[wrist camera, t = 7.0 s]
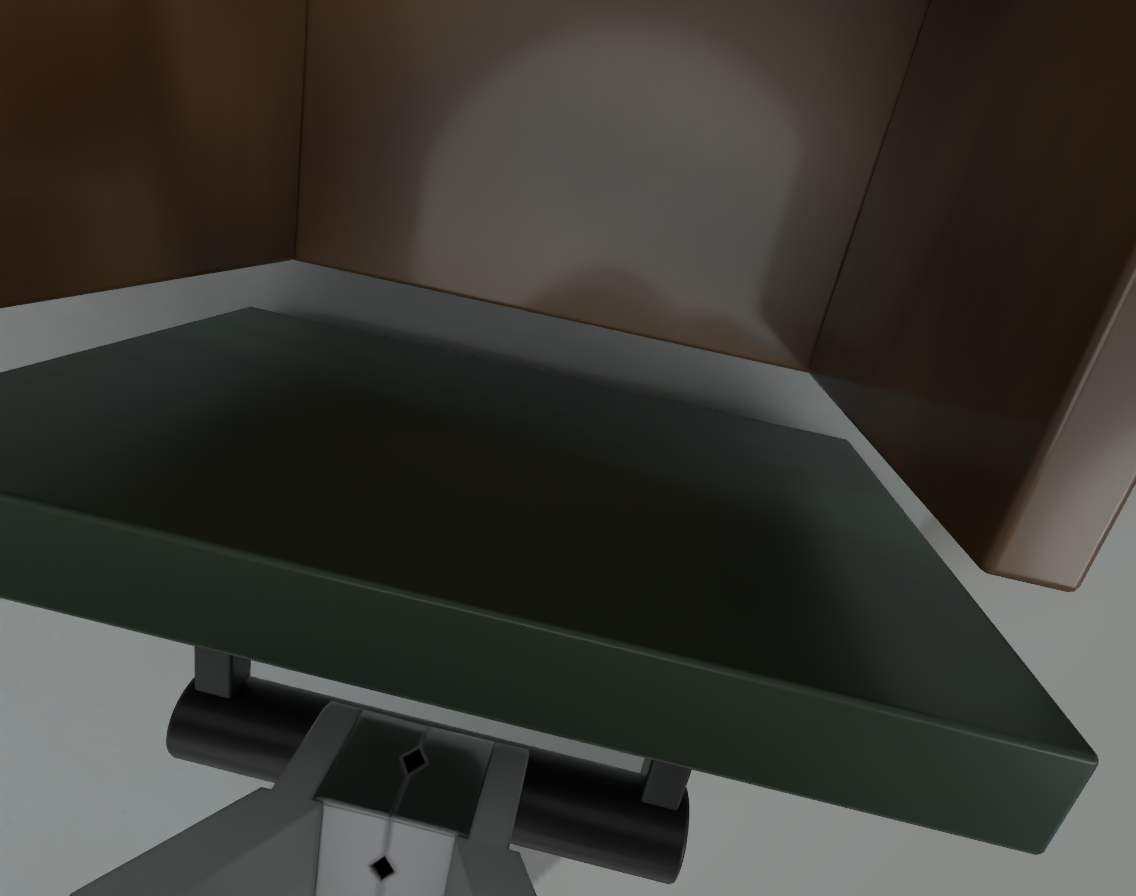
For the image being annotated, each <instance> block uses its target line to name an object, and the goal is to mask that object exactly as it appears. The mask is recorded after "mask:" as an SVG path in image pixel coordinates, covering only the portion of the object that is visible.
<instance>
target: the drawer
mask: <svg viewBox="0 0 1136 896" xmlns="http://www.w3.org/2000/svg"><path fill="white" fill-rule="evenodd" d="M289 260H297V261H301V262H306V263H310V264H315V265H319V266H324V267H329V268H333V269H338V270H342V271H347V272H351V273H356V274H360V275H365V276H370V277H374V278H379V279H383V280H388V281H392V282H397V283H402V284H406V285H411V286H415V287H420V288H424V289H429V290H433V291H438V292H443V293H447V294H452V295H456V296H461V297H465V298H470V299H474V300H479V301H484V302H488V303H493V304H497V305H502V306H506V307H511V308H515V309H520V310H525V311H529V312H534V313H538V314H543V315H547V316H552V317H556V318H561V319H566V320H570V321H575V322H579V323H584V324H588V325H593V326H597V327H602V328H607V329H611V330H616V331H620V332H625V333H629V334H634V335H638V336H643V337H648V338H652V339H657V340H661V341H666V342H670V343H675V344H679V345H684V346H689V347H693V348H698V349H702V350H707V351H711V352H716V353H721V354H725V355H730V356H734V357H739V358H743V359H748V360H752V361H757V362H762V363H766V364H771V365H775V366H780V367H784V368H789V369H793V370H798V371H803V372H807V373H809V374H810V375H811V376H812V377H813V378H814V379H815V381H816V382H817V383H818V384H819V385H820V386H821V387H822V389H823V390H824V391H825V392H826V393H827V394H828V395H829V397H830V398H831V399H832V400H833V401H834V402H835V403H836V405H837V406H838V407H839V408H840V409H841V410H842V411H843V413H844V414H845V415H846V416H847V417H848V418H849V419H850V421H851V422H852V423H853V424H854V425H855V426H856V427H857V429H858V430H859V431H860V432H861V433H862V434H863V435H864V437H865V438H866V439H867V440H868V441H869V442H870V443H871V445H872V446H873V447H874V448H875V449H876V450H877V451H878V453H879V454H880V455H881V456H882V457H883V458H884V459H885V461H886V462H887V463H888V464H889V465H890V466H891V467H892V469H893V470H894V471H895V472H896V473H897V474H898V475H899V477H900V478H901V479H902V480H903V481H904V482H905V483H906V485H907V486H908V487H909V488H910V489H911V490H912V491H913V493H914V494H915V495H916V496H917V497H918V498H919V499H920V501H921V502H922V503H923V504H924V505H925V506H926V507H927V509H928V510H929V511H930V512H931V513H932V514H933V515H934V517H935V518H936V519H938V521H939V522H940V523H941V524H942V526H943V527H944V528H945V529H946V530H947V531H948V533H949V534H950V535H951V536H952V537H953V538H954V539H955V541H956V542H957V543H958V544H959V545H960V546H961V547H962V548H963V549H964V551H965V552H966V553H967V554H968V555H969V556H970V558H971V559H972V560H973V561H974V562H975V563H976V564H977V565H978V567H979V568H980V569H981V570H983V571H984V572H986V573H988V574H992V575H997V576H1001V577H1005V578H1009V579H1014V580H1018V581H1022V582H1027V583H1031V584H1036V585H1040V586H1044V587H1049V588H1053V589H1057V590H1061V591H1066V592H1071V591H1075V590H1076V589H1077V588H1079V587H1080V585H1081V583H1082V581H1083V579H1084V578H1085V576H1086V574H1087V572H1088V570H1089V568H1090V566H1091V565H1092V563H1093V561H1094V559H1095V557H1096V556H1097V554H1098V552H1099V550H1100V548H1101V546H1102V544H1103V543H1104V541H1105V539H1106V537H1107V535H1108V533H1109V531H1110V530H1111V528H1112V526H1113V524H1114V522H1115V520H1116V519H1117V517H1118V515H1119V513H1120V511H1121V509H1122V507H1123V506H1124V504H1125V502H1126V500H1127V498H1128V496H1129V495H1130V493H1131V491H1132V489H1133V487H1134V485H1135V484H1136V0H0V308H5V307H11V306H17V305H23V304H29V303H35V302H41V301H47V300H53V299H59V298H65V297H71V296H77V295H84V294H90V293H96V292H102V291H108V290H114V289H120V288H126V287H132V286H138V285H144V284H150V283H156V282H162V281H168V280H174V279H180V278H186V277H192V276H198V275H204V274H210V273H216V272H222V271H229V270H235V269H241V268H247V267H253V266H259V265H265V264H271V263H277V262H283V261H289ZM0 598H3V599H7V600H11V601H15V602H19V603H23V604H27V605H31V606H35V607H39V608H43V609H47V610H51V611H55V612H60V613H64V614H68V615H72V616H76V617H80V618H84V619H88V620H92V621H96V622H100V623H104V624H108V625H112V626H116V627H120V628H124V629H128V630H132V631H136V632H140V633H144V634H148V635H152V636H156V637H160V638H164V639H168V640H172V641H176V642H180V643H184V644H188V645H193V646H195V677H194V678H193V679H192V680H191V682H190V683H189V684H188V685H187V687H186V688H185V690H184V691H183V693H182V695H181V696H180V698H179V700H178V702H177V704H176V706H175V708H174V711H173V713H172V716H171V719H170V722H169V725H168V730H167V737H166V745H167V750H168V752H169V753H170V754H171V755H172V756H173V757H175V758H179V759H183V760H186V761H190V762H194V763H198V764H202V765H206V766H210V767H214V768H218V769H222V770H225V771H229V772H233V773H237V774H241V775H245V776H249V777H253V778H257V779H261V780H264V781H268V782H272V783H276V782H277V780H278V778H279V777H280V775H281V774H282V772H283V771H284V769H285V768H286V766H287V764H288V763H289V761H290V760H291V758H292V757H293V755H294V753H295V752H296V750H297V749H298V747H299V746H300V744H301V742H302V741H303V739H304V738H305V736H306V735H307V733H308V732H309V730H310V728H311V727H312V725H313V724H314V722H315V721H316V719H317V717H318V716H319V714H320V713H321V711H322V710H323V708H324V707H325V706H327V705H328V704H329V703H330V702H331V701H335V702H338V703H342V704H345V705H349V706H353V707H356V708H360V709H364V710H365V709H366V710H370V711H374V712H377V713H381V714H385V715H388V716H392V717H396V718H399V719H403V720H406V721H410V722H414V723H417V724H421V725H425V726H428V727H430V726H431V727H435V728H439V729H444V730H448V731H452V732H456V733H461V734H465V735H469V736H473V737H478V738H482V739H486V740H490V741H495V743H496V742H499V743H503V744H508V745H512V746H516V747H520V748H525V749H528V750H529V758H528V763H527V768H526V772H525V777H524V781H523V786H522V791H521V795H520V800H519V805H518V809H517V814H516V818H515V823H514V828H513V832H512V837H511V841H510V844H514V845H518V846H522V847H526V848H530V849H534V850H538V851H541V852H545V853H549V854H553V855H557V856H561V857H565V858H569V859H573V860H577V861H580V862H584V863H589V864H593V865H596V866H600V867H604V868H608V869H612V870H616V871H619V872H623V873H627V874H631V875H635V876H639V877H643V878H647V879H651V880H655V881H658V882H663V883H666V884H671V883H674V882H675V880H676V878H677V876H678V874H679V872H680V869H681V866H682V862H683V858H684V853H685V849H686V843H687V836H688V826H689V797H688V792H687V788H686V785H687V782H688V779H689V776H690V773H691V770H696V771H700V772H704V773H708V774H712V775H716V776H721V777H725V778H729V779H732V780H737V781H741V782H745V783H749V784H753V785H757V786H761V787H765V788H769V789H773V790H777V791H781V792H785V793H789V794H793V795H797V796H801V797H805V798H809V799H813V800H817V801H822V802H825V803H829V804H833V805H837V806H841V807H845V808H849V809H853V810H857V811H862V812H866V813H870V814H874V815H878V816H882V817H886V818H890V819H894V820H898V821H902V822H906V823H910V824H914V825H918V826H922V827H926V828H930V829H934V830H938V831H942V832H946V833H950V834H954V835H959V836H963V837H967V838H970V839H974V840H978V841H983V842H987V843H990V844H994V845H998V846H1003V847H1007V848H1011V849H1015V850H1019V851H1023V852H1027V853H1031V854H1035V855H1036V854H1041V853H1043V852H1044V851H1045V849H1046V848H1047V846H1048V845H1049V843H1050V841H1051V840H1052V838H1053V836H1054V835H1055V833H1056V832H1057V830H1058V828H1059V827H1060V825H1061V824H1062V822H1063V820H1064V819H1065V817H1066V815H1067V814H1068V812H1069V811H1070V809H1071V807H1072V806H1073V804H1074V803H1075V801H1076V799H1077V798H1078V796H1079V795H1080V793H1081V791H1082V790H1083V788H1084V787H1085V785H1086V783H1087V782H1088V780H1089V778H1090V777H1091V775H1092V774H1093V772H1094V771H1095V769H1096V767H1097V766H1098V757H1097V754H1095V752H1094V751H1093V749H1092V748H1091V747H1090V746H1089V744H1088V743H1087V742H1086V741H1085V739H1084V738H1083V737H1082V736H1081V734H1080V733H1079V732H1078V730H1077V729H1076V728H1075V727H1074V725H1073V724H1072V723H1071V722H1070V720H1069V719H1068V718H1067V717H1066V715H1065V714H1064V713H1063V712H1062V710H1061V709H1060V708H1059V706H1058V705H1057V704H1056V703H1055V702H1054V700H1053V699H1052V698H1051V697H1050V695H1049V694H1048V693H1047V691H1046V690H1045V689H1044V688H1043V686H1042V685H1041V684H1040V683H1039V681H1038V680H1037V679H1036V678H1035V676H1034V675H1033V674H1032V672H1031V671H1030V670H1029V669H1028V667H1027V666H1026V665H1025V664H1024V662H1023V661H1022V660H1021V659H1020V657H1019V656H1018V655H1017V654H1016V652H1015V651H1014V650H1013V648H1012V647H1011V646H1010V645H1009V643H1008V642H1007V641H1006V640H1005V638H1004V637H1003V636H1002V635H1001V633H1000V632H999V631H998V629H997V628H996V627H995V626H994V624H993V623H992V622H991V621H990V619H989V618H988V617H987V616H986V614H985V613H984V612H983V611H982V609H981V608H980V607H979V606H978V604H977V603H976V602H975V600H974V599H973V598H972V597H971V596H970V594H969V593H968V592H967V591H966V589H965V588H964V587H963V585H962V584H961V583H960V582H959V580H958V579H957V578H956V577H955V576H954V574H953V573H952V571H951V570H950V569H949V568H948V566H947V565H946V564H945V563H944V561H943V560H942V559H941V557H940V556H939V555H938V554H937V552H936V551H935V550H934V549H933V547H932V546H931V545H930V544H929V542H928V541H927V540H926V539H925V537H924V536H923V535H922V533H921V532H920V531H919V530H918V528H917V527H916V526H915V525H914V523H913V522H912V521H911V520H910V518H909V517H908V516H907V515H906V513H905V512H904V511H903V510H902V508H901V507H900V506H899V504H898V503H897V502H896V501H895V499H894V498H893V497H892V496H891V494H890V493H889V492H888V491H887V489H886V488H885V487H884V486H883V484H882V483H881V482H880V480H879V479H878V478H877V477H876V475H875V474H874V473H873V472H872V470H871V469H870V468H869V467H868V465H867V464H866V463H865V462H864V460H863V459H862V458H861V456H860V455H859V454H858V453H857V451H856V450H855V449H854V448H853V446H852V445H851V444H850V443H849V441H847V440H845V439H841V438H836V437H832V436H827V435H823V434H818V433H814V432H809V431H805V430H800V429H796V428H791V427H787V426H782V425H778V424H774V423H769V422H765V421H760V420H756V419H751V418H747V417H742V416H738V415H733V414H729V413H724V412H720V411H715V410H711V409H706V408H702V407H697V406H693V405H688V404H684V403H680V402H675V401H671V400H666V399H662V398H657V397H653V396H648V395H644V394H639V393H635V392H630V391H626V390H621V389H617V388H612V387H608V386H603V385H599V384H594V383H590V382H585V381H581V380H577V379H572V378H568V377H563V376H559V375H554V374H550V373H545V372H541V371H536V370H532V369H527V368H523V367H518V366H514V365H509V364H505V363H500V362H496V361H491V360H487V359H483V358H478V357H474V356H469V355H465V354H460V353H456V352H451V351H447V350H442V349H438V348H433V347H429V346H424V345H420V344H415V343H411V342H406V341H402V340H397V339H393V338H389V337H384V336H380V335H375V334H371V333H366V332H362V331H357V330H353V329H348V328H344V327H339V326H335V325H330V324H326V323H321V322H317V321H312V320H308V319H303V318H299V317H295V316H290V315H286V314H281V313H277V312H272V311H268V310H263V309H259V308H254V307H247V308H244V309H240V310H236V311H232V312H228V313H225V314H221V315H217V316H213V317H210V318H206V319H202V320H198V321H194V322H191V323H187V324H183V325H179V326H175V327H172V328H168V329H164V330H160V331H156V332H153V333H149V334H145V335H141V336H137V337H134V338H130V339H126V340H122V341H118V342H115V343H111V344H107V345H103V346H99V347H96V348H92V349H88V350H84V351H80V352H77V353H73V354H69V355H65V356H62V357H58V358H54V359H50V360H46V361H43V362H39V363H35V364H31V365H27V366H24V367H20V368H16V369H12V370H8V371H5V372H1V373H0ZM251 660H253V661H257V662H261V663H265V664H269V665H273V666H277V667H281V668H285V669H289V670H293V671H297V672H301V673H305V674H309V675H313V676H317V677H321V678H325V679H330V680H334V681H338V682H342V683H346V684H350V685H354V686H358V687H362V688H366V689H370V690H374V691H378V692H382V693H386V694H390V695H394V696H398V697H402V698H406V699H410V700H414V701H418V702H422V703H426V704H430V705H434V706H438V707H442V708H446V709H450V710H454V711H458V712H463V713H467V714H471V715H475V716H479V717H483V718H487V719H491V720H495V721H499V722H503V723H507V724H511V725H515V726H519V727H523V728H527V729H531V730H535V731H539V732H543V733H547V734H551V735H555V736H559V737H563V738H567V739H571V740H575V741H579V742H583V743H587V744H591V745H595V746H600V747H604V748H608V749H612V750H616V751H620V752H624V753H628V754H632V755H636V756H640V757H644V758H645V759H644V762H643V766H642V769H641V772H640V773H637V772H633V771H629V770H625V769H621V768H617V767H613V766H609V765H605V764H601V763H597V762H593V761H589V760H585V759H581V758H577V757H573V756H569V755H565V754H561V753H557V752H552V751H548V750H544V749H540V748H536V747H532V746H528V745H524V744H520V743H516V742H512V741H508V740H504V739H500V738H496V737H492V736H488V735H484V734H480V733H476V732H472V731H468V730H464V729H460V728H456V727H452V726H448V725H444V724H440V723H436V722H432V721H428V720H424V719H420V718H416V717H412V716H408V715H404V714H400V713H396V712H392V711H388V710H384V709H380V708H376V707H372V706H368V705H364V704H360V703H356V702H352V701H348V700H344V699H340V698H336V697H332V696H328V695H324V694H320V693H316V692H312V691H308V690H304V689H300V688H296V687H292V686H288V685H284V684H280V683H276V682H272V681H268V680H264V679H260V678H256V677H252V676H250V667H251Z"/></svg>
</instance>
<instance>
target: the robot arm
mask: <svg viewBox="0 0 1136 896" xmlns="http://www.w3.org/2000/svg"><path fill="white" fill-rule="evenodd" d="M528 758H529V750H528V749H525V748H520V747H516V746H512V745H508V744H503V743H499V742H496V743H495V741H490V740H486V739H482V738H478V737H473V736H469V735H465V734H461V733H456V732H452V731H448V730H444V729H439V728H435V727H431V726H430V727H428V726H425V725H421V724H417V723H414V722H410V721H406V720H403V719H399V718H396V717H392V716H388V715H385V714H381V713H377V712H374V711H370V710H366V709H365V710H364V709H360V708H356V707H353V706H349V705H345V704H342V703H338V702H335V701H331V702H330V703H329V704H328V705H327V706H325V707H324V708H323V710H322V711H321V713H320V714H319V716H318V717H317V719H316V721H315V722H314V724H313V725H312V727H311V728H310V730H309V732H308V733H307V735H306V736H305V738H304V739H303V741H302V742H301V744H300V746H299V747H298V749H297V750H296V752H295V753H294V755H293V757H292V758H291V760H290V761H289V763H288V764H287V766H286V768H285V769H284V771H283V772H282V774H281V775H280V777H279V778H278V780H277V782H276V783H275V785H274V786H273V788H272V789H267V788H262V787H261V788H259V789H257V790H255V791H253V792H252V793H250V794H248V795H246V796H244V797H243V798H241V799H239V800H237V801H235V802H234V803H232V804H230V805H228V806H227V807H225V808H223V809H221V810H219V811H218V812H216V813H214V814H212V815H210V816H209V817H207V818H205V819H203V820H202V821H200V822H198V823H196V824H194V825H193V826H191V827H189V828H187V829H185V830H184V831H182V832H180V833H178V834H176V835H175V836H173V837H171V838H169V839H168V840H166V841H164V842H162V843H160V844H159V845H157V846H155V847H153V848H151V849H150V850H148V851H146V852H144V853H142V854H141V855H139V856H137V857H135V858H134V859H132V860H130V861H128V862H126V863H125V864H123V865H121V866H119V867H117V868H116V869H114V870H112V871H110V872H109V873H107V874H105V875H103V876H101V877H100V878H98V879H96V880H94V881H92V882H91V883H89V884H87V885H85V886H83V887H82V888H80V889H78V890H76V891H75V892H73V893H71V894H70V896H537V895H536V893H535V890H534V888H533V886H532V883H531V881H530V878H529V876H528V873H527V871H526V868H525V866H524V863H523V861H522V858H521V856H520V853H519V852H516V851H513V850H509V846H510V841H511V837H512V832H513V828H514V823H515V818H516V814H517V809H518V805H519V800H520V795H521V791H522V786H523V781H524V777H525V772H526V768H527V763H528Z"/></svg>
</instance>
